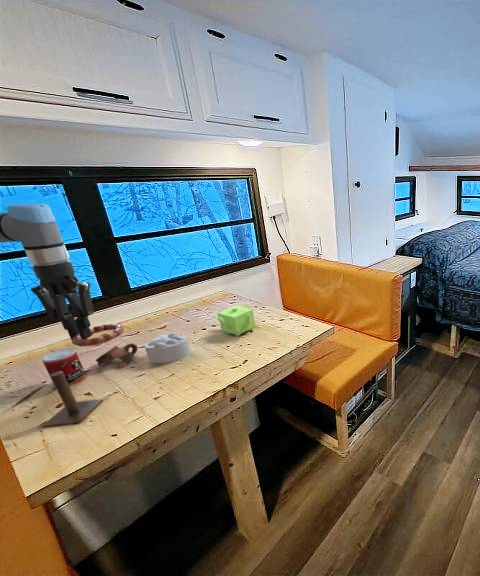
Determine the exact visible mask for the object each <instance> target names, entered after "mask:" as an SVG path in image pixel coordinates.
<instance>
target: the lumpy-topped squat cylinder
mask: <svg viewBox="0 0 480 576" xmlns="http://www.w3.org/2000/svg"><path fill="white" fill-rule="evenodd" d="M188 341H189V340H188V338H187V336H186V335H184V334H180V333H178V332H175V331H173V332H170V333H168V334H159V335H158V336H156V337H155V338H153V339H152V340H150V341H149V342H148V343H146V344H145V345H144V349H145V352H146V355H147V358H148V360H149V363H150V364H170V363H174V362H177V361H180V360H183V359H185V358H188V357H189V356H190V355H191V353H192V352H191V347H190V345H189V342H188Z"/></svg>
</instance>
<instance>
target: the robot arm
mask: <svg viewBox="0 0 480 576" xmlns="http://www.w3.org/2000/svg"><path fill="white" fill-rule="evenodd" d="M6 210H7V212H0V244H2V243H16V242H17V243H18V242H19V243H21V245H22V247H23V250H24V252H25V254H26V256H27V257H26V258H27V260H28V262H29V264H31V265H32V266H31V268H32V270H33V273H34V275H35V278H36V279H38V280H39V284H38V285H36V286H34V287H31V288H30V292H32V293H33V294H34V295H35V296H36V297H37V298H38V300H39V301H40V303H41V305H42V307H43V308H44V310H45V312H46V314H48V316H49V318H50V319H51V320H58V321H60V322H61V325H62V328H63V329H64V330H65V331H67V333H68V336H69V338H70V340H71V341H72V339H73V337H74V336H75V335H77V334H78V333H80V334H81V337H82V339H90V337H92V336H93V334H92V333H91V331H90V328H91V322H90V319H89V316H91V315H93V314H94V313H95V309H94V305H93V300H92V297H91V296H92V295H91V292H90V291H91V290H90V289H91V283H90V282H89V281H88V282H82V281H80V280H79V279H78V278H77V277H76V275H75V273H76V271H75V268H74V265H73V263H72V261H71V260H69V259H70V255H69V252H68V250H67V248H66V245H65V243H64V242H65V241H64V239H63V237H62V234H61V232H60V230H59V227H58V223H57V219H56V218H55V216H54V213H53V212H52V210H51V208H50V206H49V205H47V204H45V203H22V204H20V203H19V204H11V205H8V206H7V207H6ZM67 302H68V303H67ZM68 304H69V306H70V307H71V309H72V311H73V313H74V315H75V317H76V318H75V317H74V316H73V314H70V311H69V307H68Z"/></svg>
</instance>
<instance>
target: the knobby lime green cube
mask: <svg viewBox="0 0 480 576" xmlns="http://www.w3.org/2000/svg"><path fill="white" fill-rule="evenodd" d="M217 316H218V317H216V318H214V321H219V325H220V329H221V331H223V332H226V333H227V335H228V334H229V335H230V334H233V335H234V336H235V337H240V336H242V334H243V333H245V332H247V331H251V330H252V329H253V328H255V327H256V321H255V316H254V310H253V306H247V307H243V306H240V305H234V306H231V307H229V308H227V309H223V310H221V311H220V312H217Z"/></svg>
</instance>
